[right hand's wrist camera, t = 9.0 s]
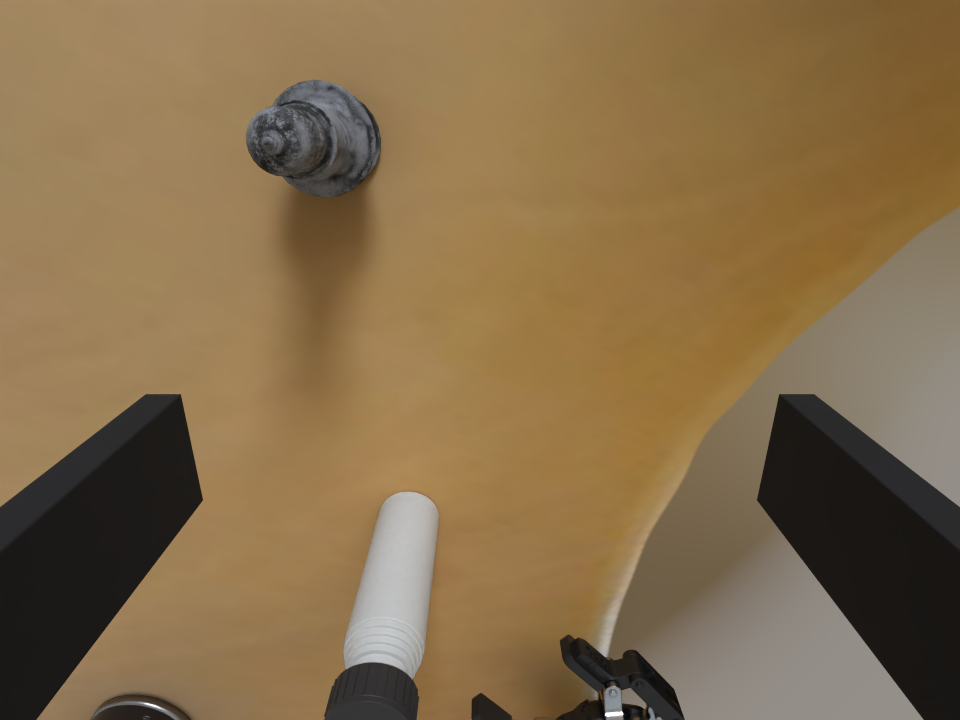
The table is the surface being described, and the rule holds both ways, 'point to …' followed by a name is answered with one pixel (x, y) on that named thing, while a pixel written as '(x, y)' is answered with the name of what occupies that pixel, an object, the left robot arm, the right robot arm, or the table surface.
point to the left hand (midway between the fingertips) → (518, 677)
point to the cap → (373, 694)
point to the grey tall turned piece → (316, 139)
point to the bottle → (395, 586)
